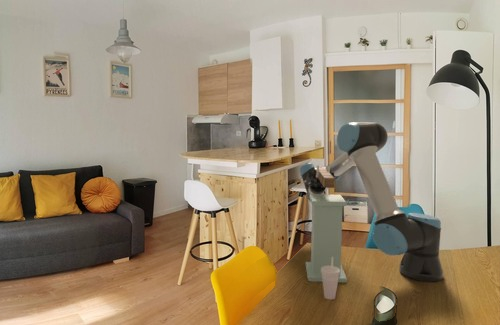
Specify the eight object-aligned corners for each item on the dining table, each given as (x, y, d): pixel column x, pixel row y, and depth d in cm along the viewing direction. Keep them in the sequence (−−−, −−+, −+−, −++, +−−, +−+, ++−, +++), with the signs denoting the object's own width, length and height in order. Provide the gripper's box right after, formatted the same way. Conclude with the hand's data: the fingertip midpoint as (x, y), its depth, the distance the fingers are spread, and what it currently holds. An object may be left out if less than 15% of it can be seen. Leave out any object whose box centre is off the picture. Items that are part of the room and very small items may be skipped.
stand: (305, 265, 140) (306, 193, 137) (340, 266, 139) (342, 194, 136) (308, 281, 127) (309, 201, 123) (346, 282, 125) (349, 202, 122)
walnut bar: (316, 176, 148) (316, 168, 148) (324, 176, 148) (325, 168, 147) (324, 187, 122) (324, 178, 122) (334, 187, 122) (334, 178, 122)
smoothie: (339, 302, 112) (341, 261, 110) (319, 300, 113) (320, 259, 111) (338, 292, 118) (340, 253, 116) (319, 291, 119) (320, 252, 117)
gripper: (335, 195, 158) (344, 177, 137) (299, 194, 160) (303, 177, 138) (334, 180, 161) (343, 160, 140) (299, 179, 163) (302, 159, 141)
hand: (323, 168), depth 139 cm, fingers closed on walnut bar, 3 cm apart
